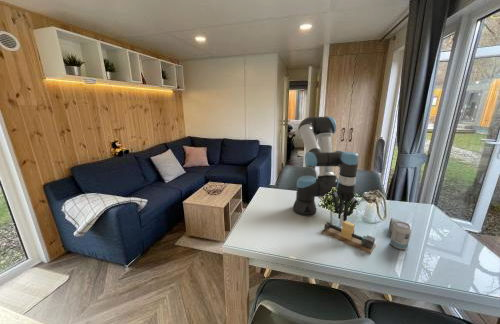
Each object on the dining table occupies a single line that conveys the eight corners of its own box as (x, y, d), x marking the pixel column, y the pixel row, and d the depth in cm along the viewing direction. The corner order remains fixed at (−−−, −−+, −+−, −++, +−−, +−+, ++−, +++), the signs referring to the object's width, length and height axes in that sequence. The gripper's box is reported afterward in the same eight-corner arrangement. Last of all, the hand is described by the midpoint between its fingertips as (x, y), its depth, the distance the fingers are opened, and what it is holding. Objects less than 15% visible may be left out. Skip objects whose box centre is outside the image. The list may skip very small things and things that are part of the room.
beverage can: (405, 243, 102) (409, 222, 99) (408, 252, 96) (414, 230, 93) (388, 240, 105) (392, 219, 102) (391, 248, 99) (395, 227, 96)
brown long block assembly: (322, 232, 112) (322, 223, 110) (328, 226, 117) (329, 218, 116) (370, 254, 95) (372, 244, 94) (375, 246, 101) (377, 236, 99)
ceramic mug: (407, 239, 106) (410, 225, 104) (388, 233, 110) (390, 221, 108) (405, 229, 114) (408, 216, 112) (388, 224, 118) (390, 212, 116)
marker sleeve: (340, 236, 106) (342, 223, 104) (343, 232, 109) (345, 219, 107) (350, 240, 103) (352, 226, 101) (353, 236, 106) (355, 223, 104)
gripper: (330, 181, 102) (326, 223, 109) (357, 188, 93) (351, 233, 99) (336, 178, 107) (332, 217, 114) (363, 184, 98) (357, 227, 104)
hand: (341, 225), depth 107 cm, fingers closed
